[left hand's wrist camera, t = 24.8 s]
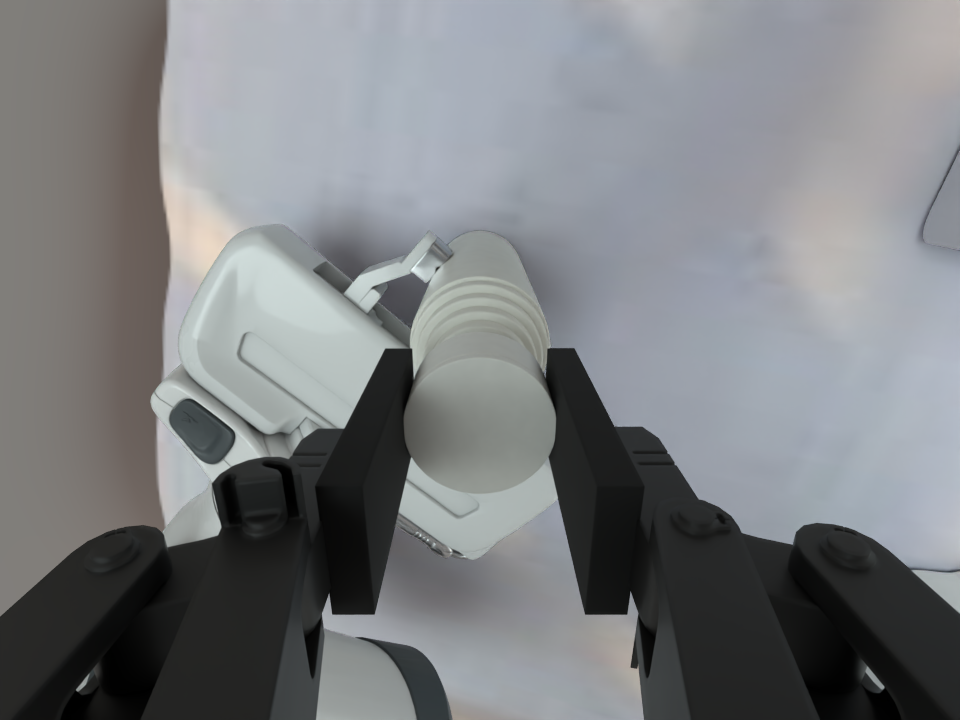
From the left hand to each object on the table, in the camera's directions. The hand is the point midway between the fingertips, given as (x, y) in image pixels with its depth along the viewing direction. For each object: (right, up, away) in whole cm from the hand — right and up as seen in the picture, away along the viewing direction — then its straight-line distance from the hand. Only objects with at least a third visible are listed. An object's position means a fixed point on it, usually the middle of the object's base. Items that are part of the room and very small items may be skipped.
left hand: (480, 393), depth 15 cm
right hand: (0, +4, +10) cm, 11 cm away
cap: (0, -1, -2) cm, 2 cm away
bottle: (0, +6, +16) cm, 17 cm away
